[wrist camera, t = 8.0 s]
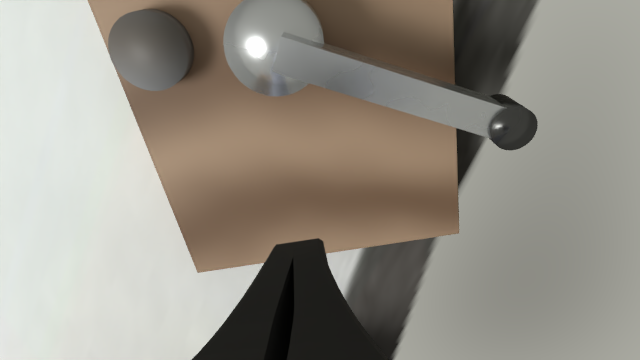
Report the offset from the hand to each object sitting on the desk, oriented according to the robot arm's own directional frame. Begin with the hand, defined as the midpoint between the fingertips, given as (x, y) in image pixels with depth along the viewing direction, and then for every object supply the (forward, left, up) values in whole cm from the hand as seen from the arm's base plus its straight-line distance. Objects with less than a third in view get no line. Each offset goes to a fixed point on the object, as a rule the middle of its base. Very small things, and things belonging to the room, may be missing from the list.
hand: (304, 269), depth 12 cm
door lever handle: (+3, -3, -8) cm, 9 cm away
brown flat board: (+3, 0, -9) cm, 10 cm away
